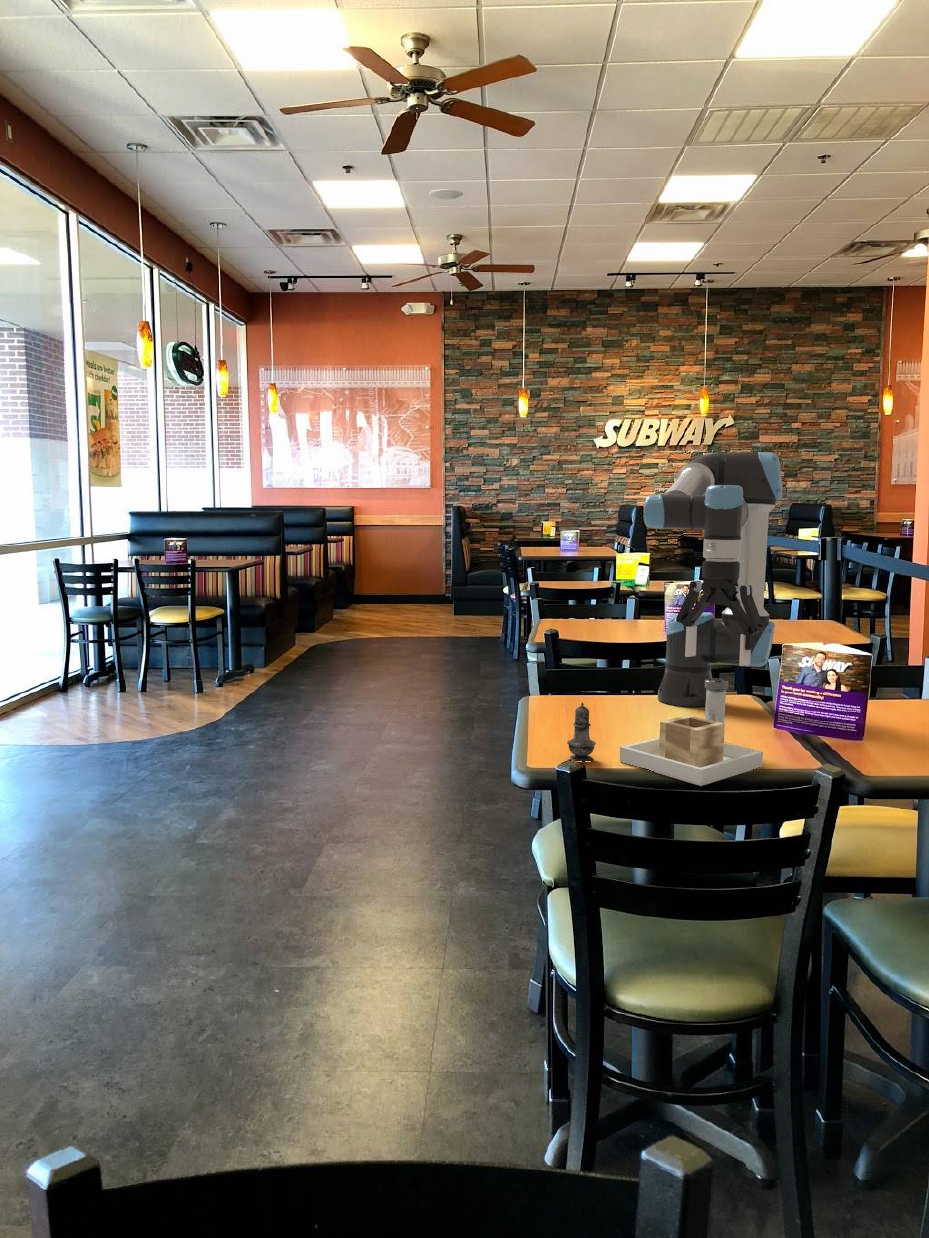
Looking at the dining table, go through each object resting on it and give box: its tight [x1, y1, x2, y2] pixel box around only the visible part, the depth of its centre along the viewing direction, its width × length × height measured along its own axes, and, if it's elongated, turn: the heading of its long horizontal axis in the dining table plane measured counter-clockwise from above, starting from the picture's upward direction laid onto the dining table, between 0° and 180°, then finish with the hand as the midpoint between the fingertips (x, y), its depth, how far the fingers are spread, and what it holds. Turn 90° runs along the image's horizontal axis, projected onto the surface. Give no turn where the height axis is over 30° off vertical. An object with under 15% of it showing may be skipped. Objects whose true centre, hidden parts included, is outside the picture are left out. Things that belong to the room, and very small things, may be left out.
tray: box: [619, 736, 764, 787], centre depth 188 cm, size 20×20×3 cm
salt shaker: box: [566, 702, 597, 762], centre depth 190 cm, size 6×6×12 cm
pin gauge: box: [704, 677, 729, 724], centre depth 198 cm, size 5×5×15 cm
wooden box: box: [659, 714, 726, 768], centre depth 187 cm, size 9×9×8 cm
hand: (716, 660), depth 196 cm, fingers open, 13 cm apart
